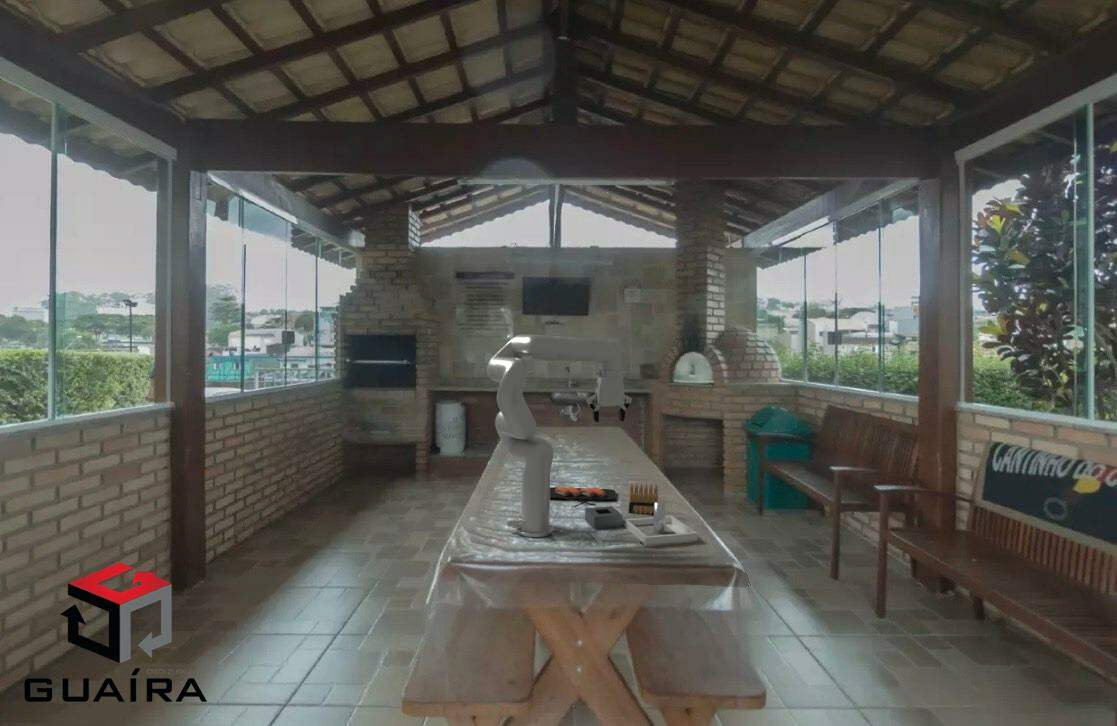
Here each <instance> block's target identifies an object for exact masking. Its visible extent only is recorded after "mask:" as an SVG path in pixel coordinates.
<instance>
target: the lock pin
mask: <svg viewBox="0 0 1117 726" xmlns="http://www.w3.org/2000/svg"><path fill="white" fill-rule="evenodd" d="M665 516H666V502H664V501H660V500H658V501H656V502H654V524H653V533H654V534H656V535H665V531H666V530H665V528H666V527H665V526H666V525H665Z"/></svg>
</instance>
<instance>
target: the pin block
mask: <svg viewBox="0 0 1117 726" xmlns="http://www.w3.org/2000/svg"><path fill="white" fill-rule="evenodd" d="M584 520H585V521H586V522H587V523H588V524H589V526H590V527H592V528H593V530H596V529H597V530H598V529H600V530H601V529H608V528H620V527H623V514H622V513H621V512H620V511H619V510H617V509H616V508H615V507H613V506H611V505H610V506H598V507H597V506H596V507H595V506H594V507H585V508H584Z"/></svg>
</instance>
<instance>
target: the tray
mask: <svg viewBox="0 0 1117 726" xmlns="http://www.w3.org/2000/svg"><path fill="white" fill-rule="evenodd" d="M645 525H646V526H647V525H654V517H653V516H652V517H651V516H650V517H639V518H625V519H623V527H625V528H626V529H627V530H628V531H629V532H631V533H632V534H633V536H635V537H636V538H638V540H640V541H641V542H640V541H639V543H640V544H641V546H643V547H645V548H650V547H661V546H673V545H682V544H683V543H685V544H693V543H698V532H697V531H695V530H693V529H692V528H691V527H689V526H688V525H686V524H685V523H684V522H682V521H680V520H679V519H678V518H676V517H674V516H673V515H665V526H666V527H667V528H668V529H670V530H671V531H673V533H672V534H671V533H670V534H656V535H650V536H648V535H646V534H645V533H644V532H642V531H641V530H640V529H639V528H638V527H637V526H645ZM683 545H684V544H683Z"/></svg>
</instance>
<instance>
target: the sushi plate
mask: <svg viewBox="0 0 1117 726" xmlns="http://www.w3.org/2000/svg"><path fill="white" fill-rule="evenodd" d="M616 497H617V492H616V490H614V489H611V488H599V487H593V488H590V487H584V488H582V487H574V486H568V487H562V486H561V487H560V486H559V487H558V486H557V487H556V486H555V487H554V486H553V487H551V486H550V499H556V498H557V499H561V500H569V501H573V502H576V503H577V502H578V504H576V505H575V504H574V505H572V508H575V507H579V506H581V505H583V504H586V505H589V506H597V504H595V503H591V502H590V501H612V500H613V501H614V500H616ZM581 500H582V501H581ZM583 500H585V501H583Z"/></svg>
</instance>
